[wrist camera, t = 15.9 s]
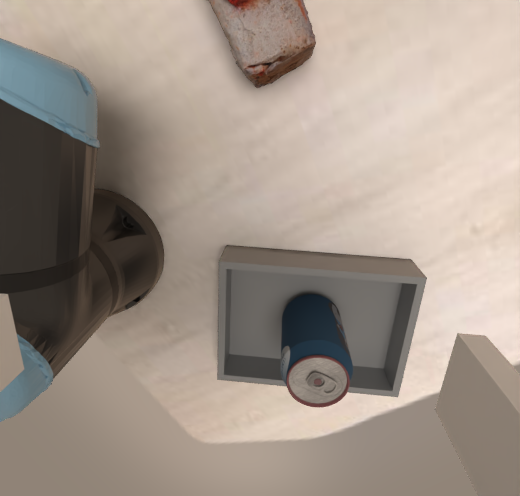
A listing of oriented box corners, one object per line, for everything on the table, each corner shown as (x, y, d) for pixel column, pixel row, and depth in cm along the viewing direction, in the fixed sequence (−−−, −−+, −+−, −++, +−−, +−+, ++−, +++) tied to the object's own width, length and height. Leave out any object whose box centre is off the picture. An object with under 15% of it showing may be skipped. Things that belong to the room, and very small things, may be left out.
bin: (224, 353, 48) (217, 379, 43) (226, 245, 42) (219, 261, 38) (387, 369, 47) (397, 397, 42) (411, 259, 41) (426, 277, 37)
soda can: (272, 322, 45) (266, 392, 33) (300, 279, 42) (304, 338, 31) (319, 347, 45) (329, 423, 34) (350, 306, 43) (372, 373, 32)
